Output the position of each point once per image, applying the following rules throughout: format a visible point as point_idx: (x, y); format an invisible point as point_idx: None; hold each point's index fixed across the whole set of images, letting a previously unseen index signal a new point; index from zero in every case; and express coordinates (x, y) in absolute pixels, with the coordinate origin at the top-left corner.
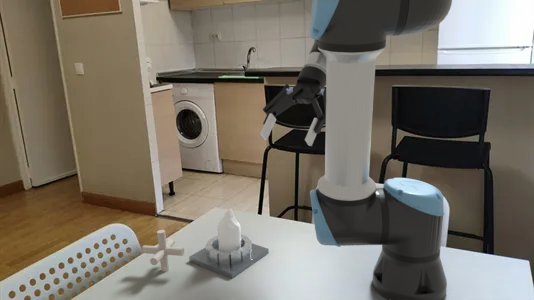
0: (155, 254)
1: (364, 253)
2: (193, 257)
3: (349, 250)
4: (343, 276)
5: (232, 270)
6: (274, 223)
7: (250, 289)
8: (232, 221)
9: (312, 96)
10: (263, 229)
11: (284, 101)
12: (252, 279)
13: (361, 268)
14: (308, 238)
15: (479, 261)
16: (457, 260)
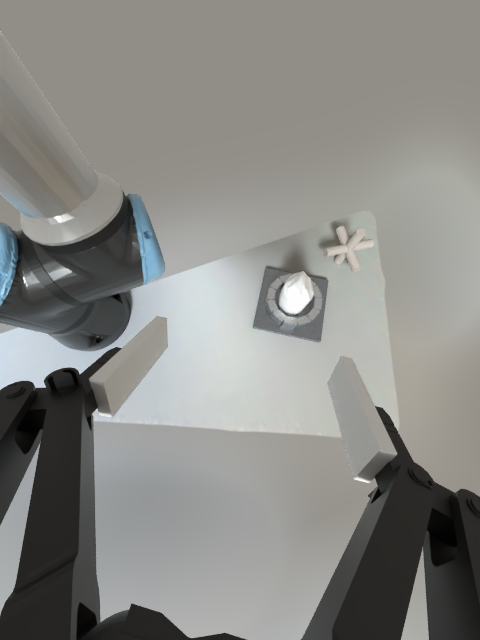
0: (345, 232)
1: None
2: (322, 280)
3: (161, 368)
4: (160, 310)
5: (268, 272)
6: (282, 412)
7: (239, 261)
8: (292, 279)
9: (18, 617)
10: (288, 386)
11: (369, 593)
12: (245, 275)
13: None
14: (219, 382)
15: None
16: None
